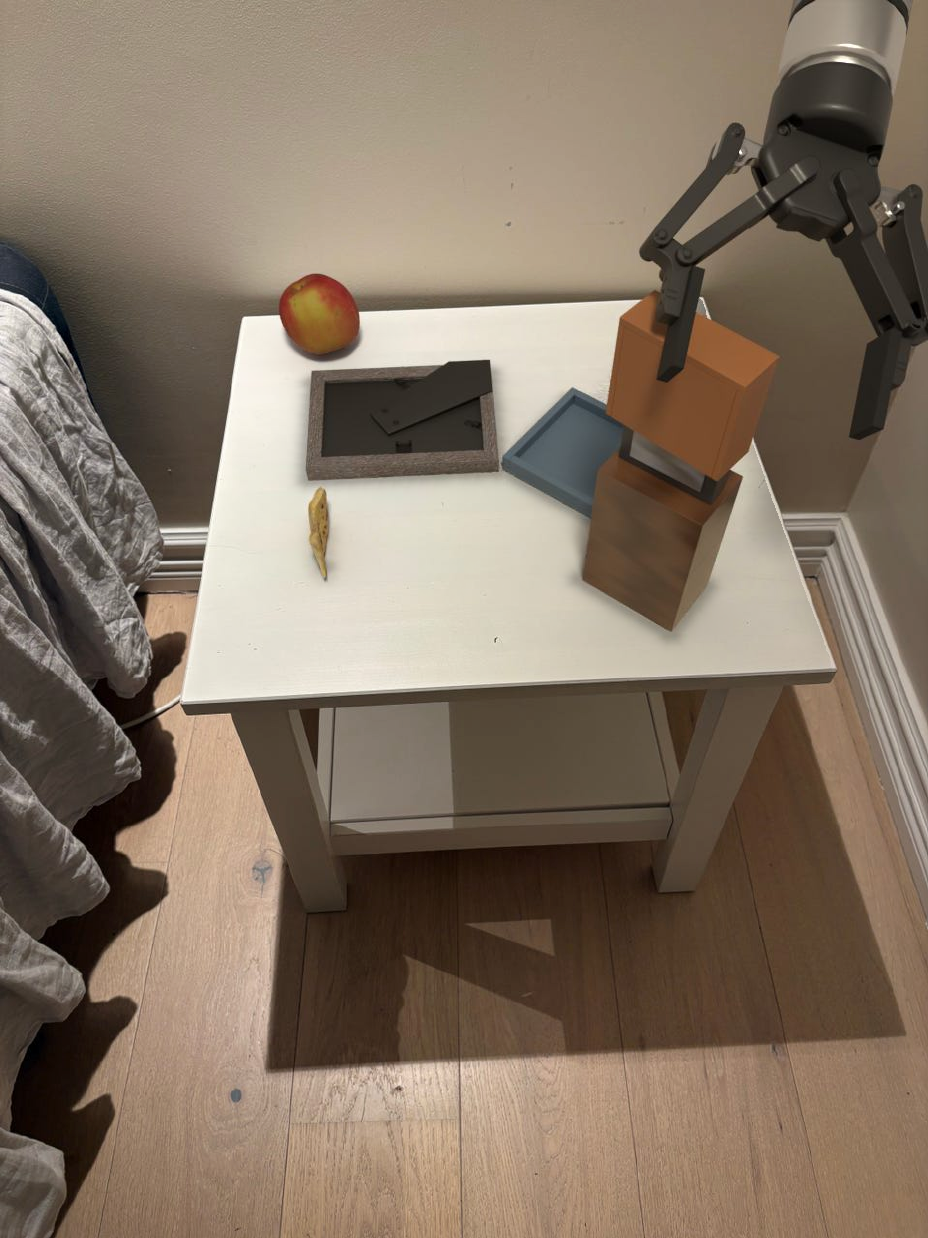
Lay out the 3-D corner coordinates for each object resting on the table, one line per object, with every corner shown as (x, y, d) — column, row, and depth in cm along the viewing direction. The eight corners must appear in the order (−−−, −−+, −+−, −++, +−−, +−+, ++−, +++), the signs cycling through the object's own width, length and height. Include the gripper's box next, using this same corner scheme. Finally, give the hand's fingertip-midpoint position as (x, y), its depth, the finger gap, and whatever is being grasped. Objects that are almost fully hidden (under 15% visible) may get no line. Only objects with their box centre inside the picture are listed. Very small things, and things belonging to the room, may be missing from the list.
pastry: (314, 510, 89) (306, 473, 85) (331, 509, 89) (323, 472, 85) (313, 587, 84) (305, 552, 80) (331, 586, 84) (323, 551, 80)
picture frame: (490, 374, 99) (313, 382, 99) (490, 359, 97) (310, 367, 97) (498, 471, 91) (308, 480, 91) (499, 456, 90) (304, 465, 89)
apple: (339, 312, 105) (330, 247, 98) (374, 355, 101) (367, 291, 94) (275, 336, 103) (261, 272, 96) (308, 382, 99) (296, 318, 92)
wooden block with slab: (707, 585, 84) (785, 348, 62) (671, 632, 81) (739, 401, 59) (619, 536, 87) (664, 295, 65) (581, 579, 84) (616, 342, 63)
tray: (689, 460, 92) (692, 447, 90) (623, 536, 87) (625, 524, 85) (570, 400, 97) (572, 386, 95) (501, 469, 92) (501, 455, 90)
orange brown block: (748, 452, 68) (780, 355, 61) (717, 481, 66) (745, 386, 59) (637, 386, 72) (654, 288, 65) (605, 413, 70) (619, 316, 63)
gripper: (962, 184, 68) (909, 470, 66) (634, 70, 65) (566, 368, 62) (1042, 122, 61) (985, 442, 59) (677, -10, 57) (601, 325, 55)
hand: (769, 405), depth 61 cm, fingers open, 13 cm apart
